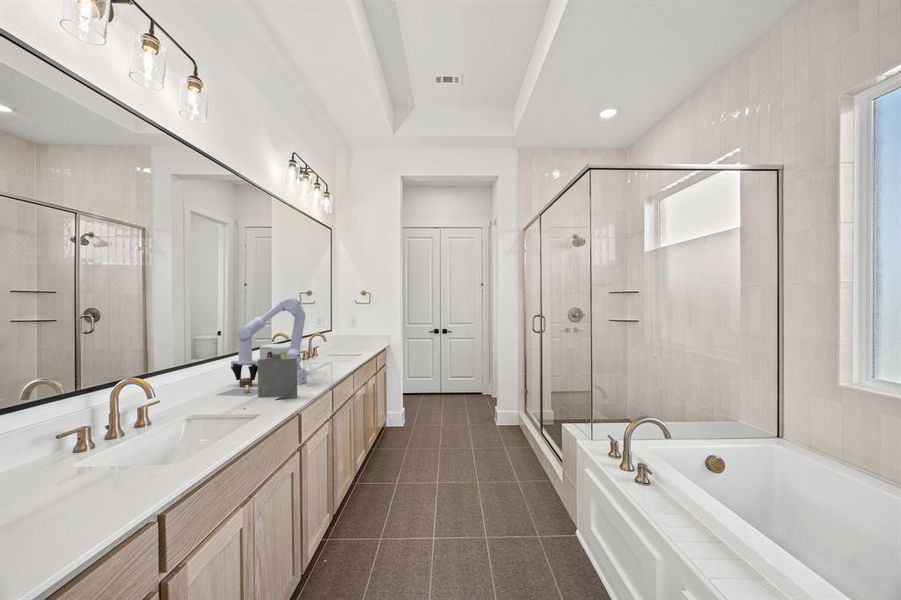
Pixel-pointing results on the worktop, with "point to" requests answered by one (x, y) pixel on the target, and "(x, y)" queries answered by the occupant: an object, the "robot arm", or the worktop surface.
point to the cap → (245, 382)
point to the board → (239, 392)
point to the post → (246, 389)
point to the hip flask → (277, 377)
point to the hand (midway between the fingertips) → (245, 380)
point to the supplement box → (274, 350)
